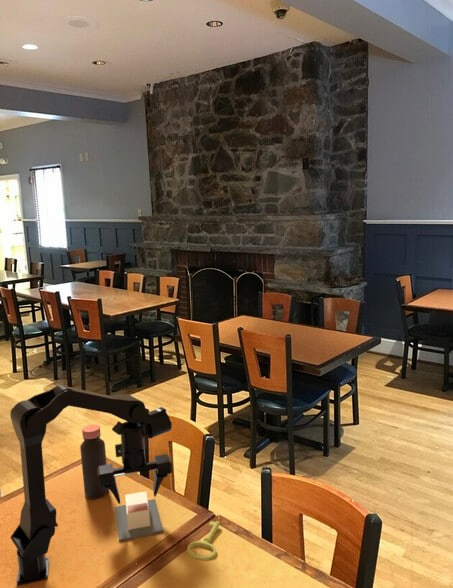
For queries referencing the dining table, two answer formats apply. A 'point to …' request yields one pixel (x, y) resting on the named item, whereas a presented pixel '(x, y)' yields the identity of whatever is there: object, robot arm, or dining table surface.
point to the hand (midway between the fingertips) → (137, 499)
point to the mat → (138, 532)
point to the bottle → (92, 460)
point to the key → (205, 543)
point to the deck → (137, 510)
